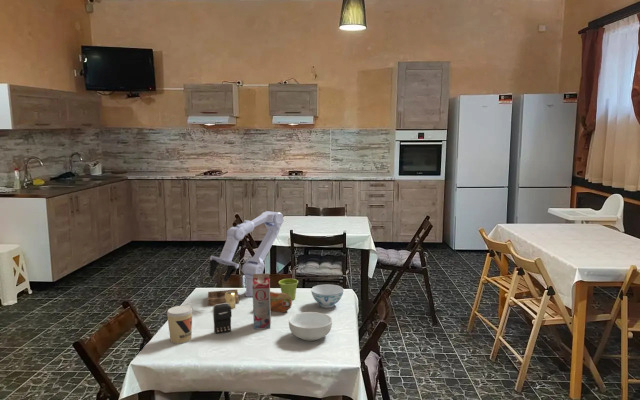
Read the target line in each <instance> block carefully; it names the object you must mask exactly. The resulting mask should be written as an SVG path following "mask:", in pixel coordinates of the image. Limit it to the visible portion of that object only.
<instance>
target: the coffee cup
mask: <svg viewBox="0 0 640 400" xmlns="http://www.w3.org/2000/svg"><path fill="white" fill-rule="evenodd" d="M166 315H167V323H168V331H169V333H168V334H169V338H170V342H171V343H172V344H176V345H179V344H181V345H182V344H185V343H188V342H189V341H191V340H192V337H193V336H192V335H193V334H192V332H193V330H192V328H193V308H192V306H188V305H175V306H172V307H170V308H168V309H167V312H166Z"/></svg>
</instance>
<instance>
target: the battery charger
mask: <svg viewBox="0 0 640 400" xmlns="http://www.w3.org/2000/svg"><path fill="white" fill-rule="evenodd" d="M232 315H233V313H232V309H231V306H230V305H229V304H228V303H222V304H216V305H213V308H212V321H213V332H214V333H215V334H217V335H218V334H225V333H229V332H231V331H232Z"/></svg>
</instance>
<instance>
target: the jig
mask: <svg viewBox="0 0 640 400" xmlns="http://www.w3.org/2000/svg"><path fill="white" fill-rule="evenodd" d="M230 291H233V292H235V303H236V304H239V303H240V302H239V299H240V298H239V292H238V289H226V290H213V291H208V292H207V306H208V307H210V306H213V307H214V306H215V305H216V304H222V303H226V302H225V293H226V292H230Z"/></svg>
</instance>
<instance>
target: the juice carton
mask: <svg viewBox="0 0 640 400" xmlns="http://www.w3.org/2000/svg"><path fill="white" fill-rule="evenodd" d="M252 285H253V296H252V303H253V304H252V308H253V310H252V311H253V314H252V315H253V330H257V329H258V330H259V329H261V330H262V329H271V327H272V326H271V324H272V321H271V320H272V314H271V313H272V311H271V308H270V292H271V278H270V273H263V274H253V284H252Z"/></svg>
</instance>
